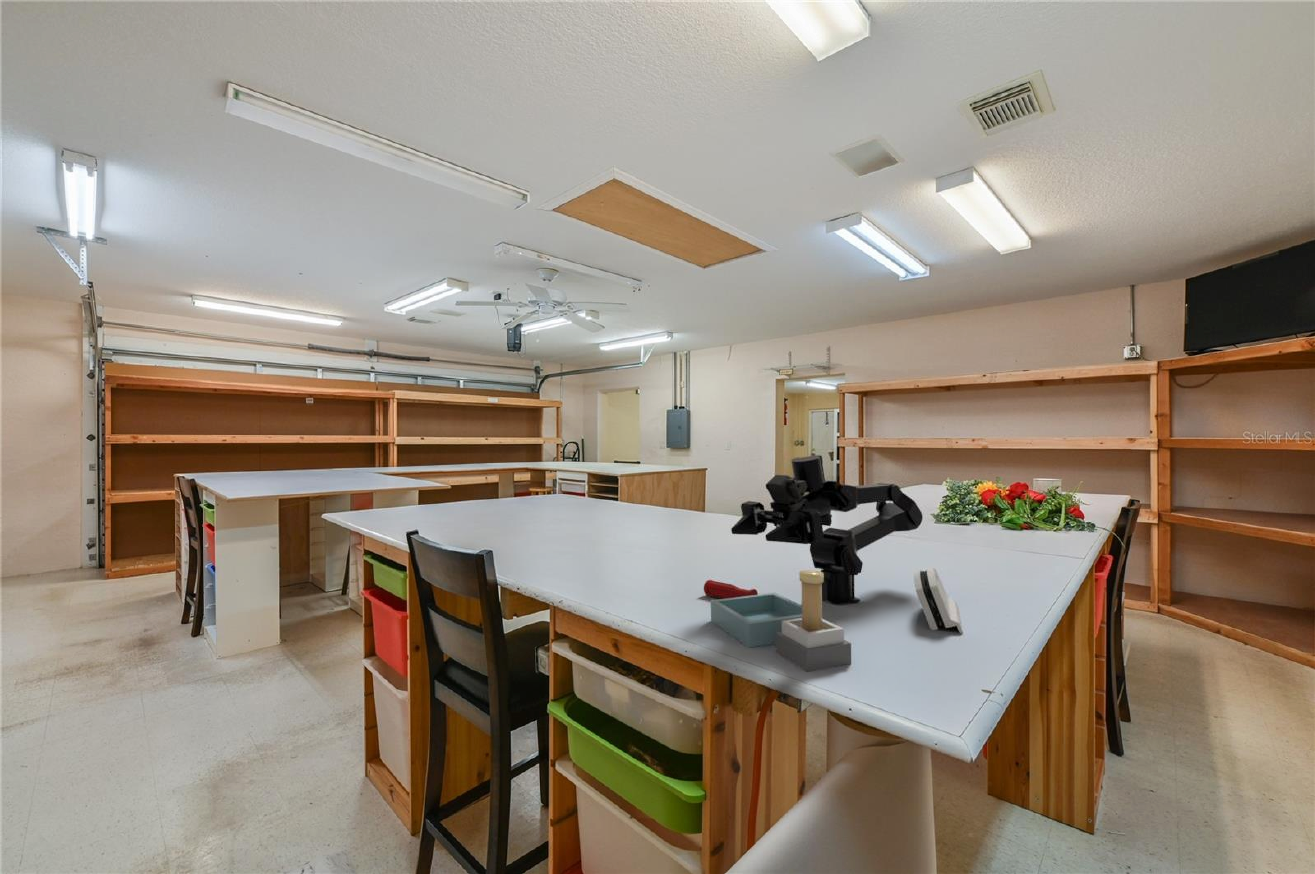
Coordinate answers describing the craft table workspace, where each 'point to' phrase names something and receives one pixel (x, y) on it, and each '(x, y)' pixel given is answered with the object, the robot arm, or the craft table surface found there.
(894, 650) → the craft table surface
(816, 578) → the cylinder
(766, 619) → the parts tray
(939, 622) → the whiteboard eraser
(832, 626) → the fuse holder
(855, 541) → the robot arm
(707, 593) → the red tapered rod
